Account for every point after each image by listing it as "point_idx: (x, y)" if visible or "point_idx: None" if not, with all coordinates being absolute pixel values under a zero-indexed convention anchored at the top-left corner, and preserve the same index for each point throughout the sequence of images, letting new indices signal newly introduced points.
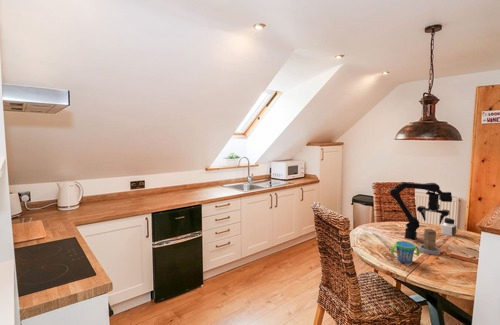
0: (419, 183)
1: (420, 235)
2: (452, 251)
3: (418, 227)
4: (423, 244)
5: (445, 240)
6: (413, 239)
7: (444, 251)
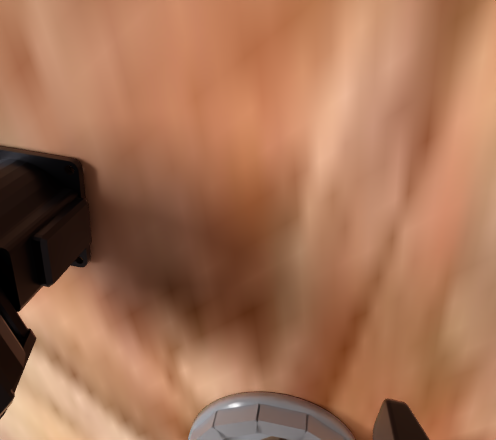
0: None
1: (85, 13)
2: (479, 394)
3: (20, 361)
4: (213, 433)
5: (461, 29)
6: (83, 263)
7: None
